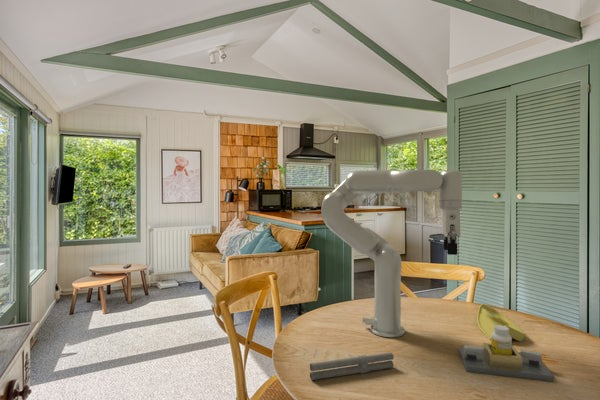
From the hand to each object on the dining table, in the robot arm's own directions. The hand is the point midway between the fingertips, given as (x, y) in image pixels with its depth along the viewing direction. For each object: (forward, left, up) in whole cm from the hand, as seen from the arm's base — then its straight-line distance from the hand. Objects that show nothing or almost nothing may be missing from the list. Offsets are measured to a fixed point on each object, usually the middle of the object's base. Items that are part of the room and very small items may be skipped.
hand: (450, 252), depth 130 cm
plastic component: (+18, +8, -31) cm, 37 cm away
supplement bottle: (+12, -20, -29) cm, 37 cm away
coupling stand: (+12, -20, -30) cm, 38 cm away
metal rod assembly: (-31, -36, -31) cm, 57 cm away
